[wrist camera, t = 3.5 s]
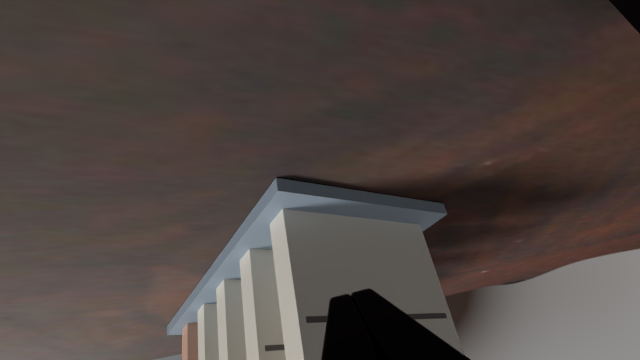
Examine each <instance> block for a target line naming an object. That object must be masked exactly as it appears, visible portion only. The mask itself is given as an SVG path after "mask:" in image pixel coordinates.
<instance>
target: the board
mask: <svg viewBox="0 0 640 360" xmlns="http://www.w3.org/2000/svg"><path fill="white" fill-rule="evenodd" d="M282 209H289V210H298V211H307V212H315V213H324V214H333V215H341V216H350V217H359V218H367V219H376V220H385V221H393V222H402V223H411V224H419V225H420V226H421V229H422V232H423V231H425V230H426V229H427V228H429V227H430V226H432V225H433V224H434V223H436V222H437V221H439V220H440V219H441V218H443V217H444V216H446V215H447V212H446V209H445V207H444V204H443V203H437V202H430V201H424V200H417V199H411V198H404V197H398V196H391V195H385V194H378V193H372V192H365V191H359V190H352V189H346V188H339V187H333V186H326V185H320V184H313V183H307V182H300V181H294V180H287V179H281V178H275V180H274V181H273V183H272V184H271V185H270V187H269V188H268V189H267V191H266V192H265V193H264V195H263V196H262V198H261V199H260V200H259V202H258V203H257V204H256V206H255V207H254V208H253V210H252V211H251V213H250V214H249V215H248V217H247V218H246V219H245V221H244V222H243V223H242V225H241V226H240V228H239V229H238V230H237V232H236V233H235V234H234V236H233V237H232V238H231V240H230V241H229V243H228V244H227V245H226V247H225V248H224V249H223V251H222V252H221V253H220V255H219V256H218V258H217V259H216V260H215V262H214V263H213V264H212V266H211V267H210V268H209V270H208V271H207V273H206V274H205V275H204V277H203V278H202V279H201V281H200V282H199V283H198V285H197V286H196V287H195V289H194V290H193V292H192V293H191V294H190V296H189V297H188V298H187V300H186V301H185V302H184V304H183V305H182V307H181V308H180V309H179V311H178V312H177V313H176V315H175V316H174V317H173V319H172V320H171V322H170V323H169V324H168V326H167V335H182V329H183V328H184V327H185V326H186V325H187V323H198V310H199V309H200V308H201V306H202V305H203V304H217V297H216V288H217V287H218V286H219V285H220V284H221V282H222V281H223V280H224V279H229V280H241V275H240V259H241V258H242V257H243V256H244V255H245V253H246V252H247V251H248V250H249V249H262V250H273V249H272V241H271V232H270V223H271V222H272V221H273V220H274V218H275V217H276V216H277V215H278V214H279V212H280V211H281V210H282Z"/></svg>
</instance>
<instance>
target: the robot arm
mask: <svg viewBox="0 0 640 360" xmlns="http://www.w3.org/2000/svg"><path fill="white" fill-rule="evenodd" d="M609 1H610V2H611V3H612V4H613V5H614V6H615V7H616V8H617V9H618V10H619V12H620V13H621V14H622V15H623V16H624V17H625V18H626V19H627V20H628V21H629V22H630V24H631V25H632V26H633V27H634V28H635V29H636V30H637V31H638V32H639V33H640V0H609ZM321 360H470V359H469V358H468V357H466V356H465V355H463V354H462V353H461V352H459V351H458V350H456V349H455V348H454V347H452V346H451V345H449V344H448V343H447V342H445V341H444V340H442V339H441V338H440V337H438V336H437V335H435V334H434V333H433V332H431V331H430V330H428V329H427V328H426V327H424V326H423V325H421V324H420V323H419V322H417V321H416V320H414V319H413V318H412V317H410V316H409V315H407V314H406V313H405V312H403V311H402V310H400V309H399V308H398V307H396V306H395V305H393V304H392V303H391V302H389V301H388V300H386V299H385V298H384V297H382V296H381V295H379V294H378V293H377V292H375V291H374V290H372V289H370V288H367V289H363V290H359V291H355V292H353V293H352V294H351V296H350V295H349V294H343V295H339V296H335V297H332V298H331V299H330V300H329V306H328V314H327V321H326V328H325V335H324V342H323V349H322V356H321Z"/></svg>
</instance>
